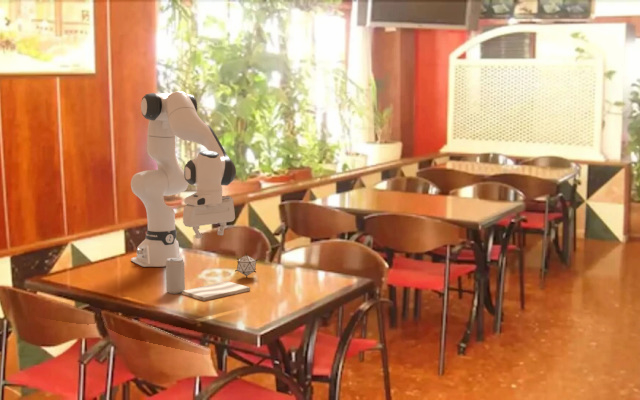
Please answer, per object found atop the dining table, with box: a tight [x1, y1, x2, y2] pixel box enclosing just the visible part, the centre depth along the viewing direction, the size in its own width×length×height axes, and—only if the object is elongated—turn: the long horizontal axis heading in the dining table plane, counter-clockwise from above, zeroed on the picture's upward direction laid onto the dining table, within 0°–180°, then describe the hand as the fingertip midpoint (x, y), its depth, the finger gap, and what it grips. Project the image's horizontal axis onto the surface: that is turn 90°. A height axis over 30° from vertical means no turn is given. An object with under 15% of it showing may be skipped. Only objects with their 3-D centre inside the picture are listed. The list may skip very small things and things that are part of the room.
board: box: [181, 280, 251, 302], centre depth 270 cm, size 13×20×1 cm, turn 134°
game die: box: [234, 252, 259, 279], centre depth 290 cm, size 9×8×10 cm
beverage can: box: [165, 257, 186, 295], centre depth 270 cm, size 6×6×12 cm
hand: (209, 236), depth 270 cm, fingers open, 8 cm apart
